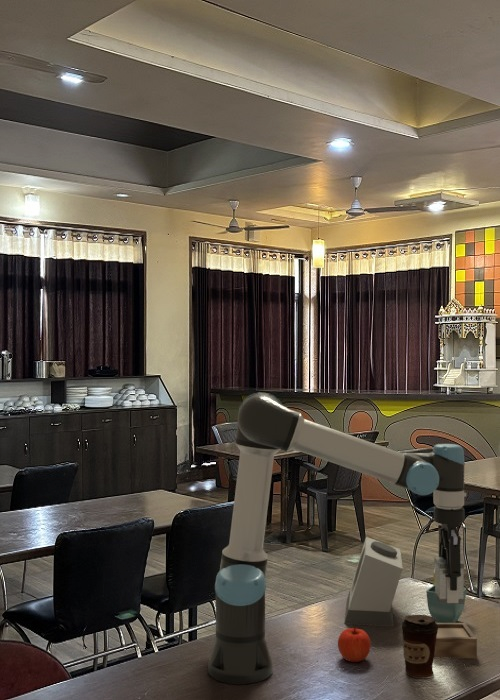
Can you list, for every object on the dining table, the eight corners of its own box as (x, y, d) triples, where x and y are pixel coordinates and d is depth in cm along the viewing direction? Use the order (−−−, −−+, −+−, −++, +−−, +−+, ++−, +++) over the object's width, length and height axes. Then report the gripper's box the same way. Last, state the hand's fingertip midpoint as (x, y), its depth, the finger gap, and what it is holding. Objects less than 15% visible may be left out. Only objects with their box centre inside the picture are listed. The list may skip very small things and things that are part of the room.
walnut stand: (431, 658, 192) (431, 638, 192) (422, 641, 203) (422, 622, 203) (476, 658, 192) (476, 638, 192) (465, 641, 203) (465, 622, 203)
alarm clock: (346, 600, 237) (346, 532, 236) (400, 602, 234) (400, 534, 234) (344, 624, 216) (344, 550, 216) (402, 627, 214) (402, 552, 214)
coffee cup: (430, 685, 177) (430, 627, 177) (395, 676, 182) (395, 620, 181) (442, 671, 185) (443, 616, 184) (409, 663, 189) (409, 609, 189)
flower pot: (467, 619, 219) (467, 587, 219) (457, 629, 212) (457, 596, 212) (436, 614, 224) (436, 582, 224) (425, 623, 217) (425, 590, 217)
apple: (350, 650, 197) (350, 618, 197) (377, 659, 192) (377, 626, 192) (330, 659, 192) (330, 626, 192) (357, 668, 186) (357, 635, 186)
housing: (464, 603, 195) (464, 563, 194) (439, 603, 195) (439, 563, 195) (458, 595, 201) (458, 556, 200) (434, 595, 201) (434, 556, 201)
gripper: (474, 514, 188) (474, 610, 188) (454, 498, 207) (455, 586, 207) (442, 514, 188) (442, 610, 188) (426, 498, 207) (426, 586, 207)
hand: (449, 598), depth 198 cm, fingers closed on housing, 6 cm apart
